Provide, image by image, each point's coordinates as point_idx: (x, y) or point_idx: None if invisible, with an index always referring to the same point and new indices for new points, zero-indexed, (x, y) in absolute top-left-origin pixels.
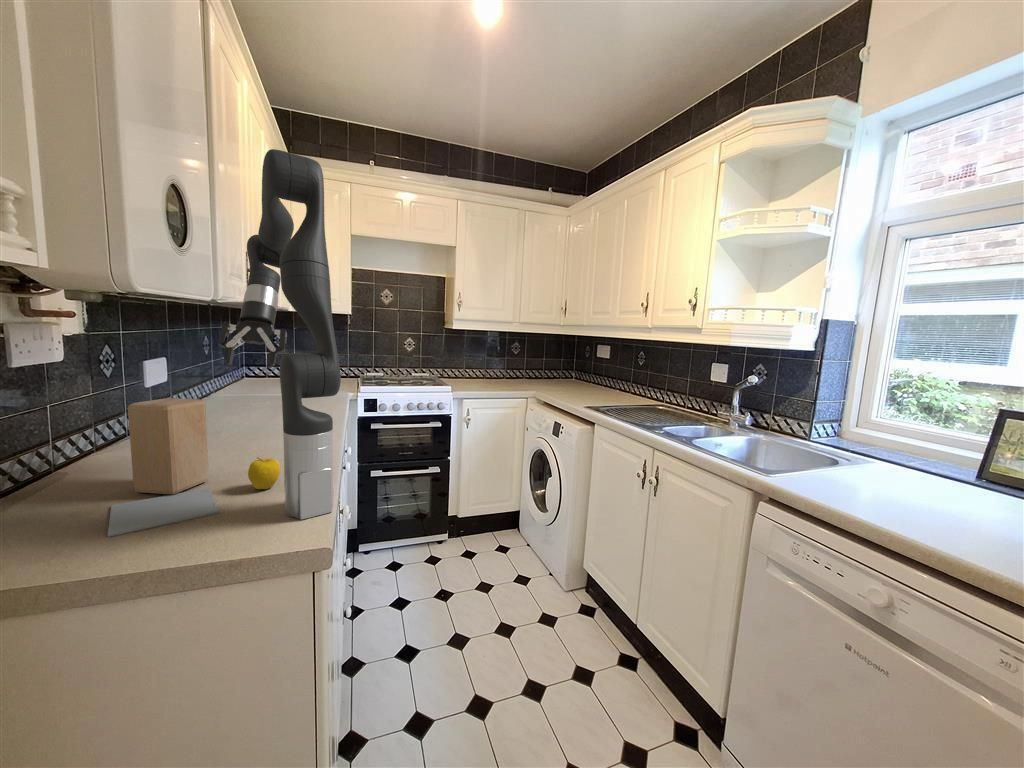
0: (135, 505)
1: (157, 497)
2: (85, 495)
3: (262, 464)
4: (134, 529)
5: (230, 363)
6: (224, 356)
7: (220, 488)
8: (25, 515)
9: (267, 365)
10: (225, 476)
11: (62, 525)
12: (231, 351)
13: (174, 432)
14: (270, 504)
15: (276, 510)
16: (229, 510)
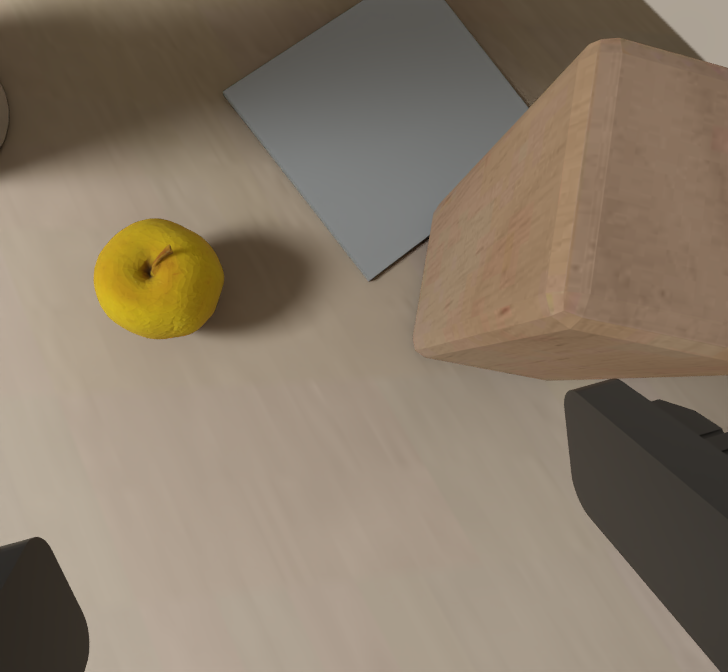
0: (490, 139)
1: None
2: None
3: (139, 230)
4: None
5: (569, 437)
6: (714, 428)
7: (335, 293)
8: None
9: (28, 540)
10: (389, 414)
11: (574, 39)
12: (686, 486)
13: (516, 132)
14: (86, 155)
15: (43, 108)
16: (199, 113)
